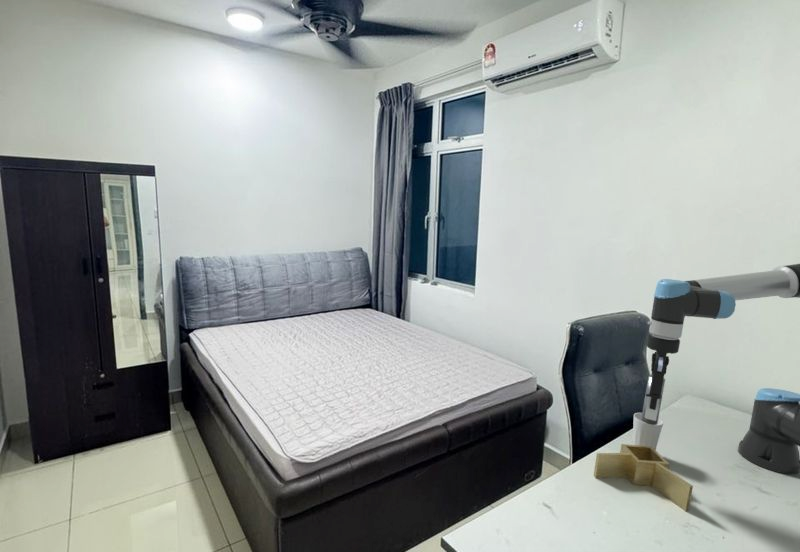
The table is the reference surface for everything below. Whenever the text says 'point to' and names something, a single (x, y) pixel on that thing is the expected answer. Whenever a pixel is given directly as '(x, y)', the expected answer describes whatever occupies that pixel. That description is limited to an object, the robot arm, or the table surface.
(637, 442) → the cup
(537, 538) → the table surface
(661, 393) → the pin
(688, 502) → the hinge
